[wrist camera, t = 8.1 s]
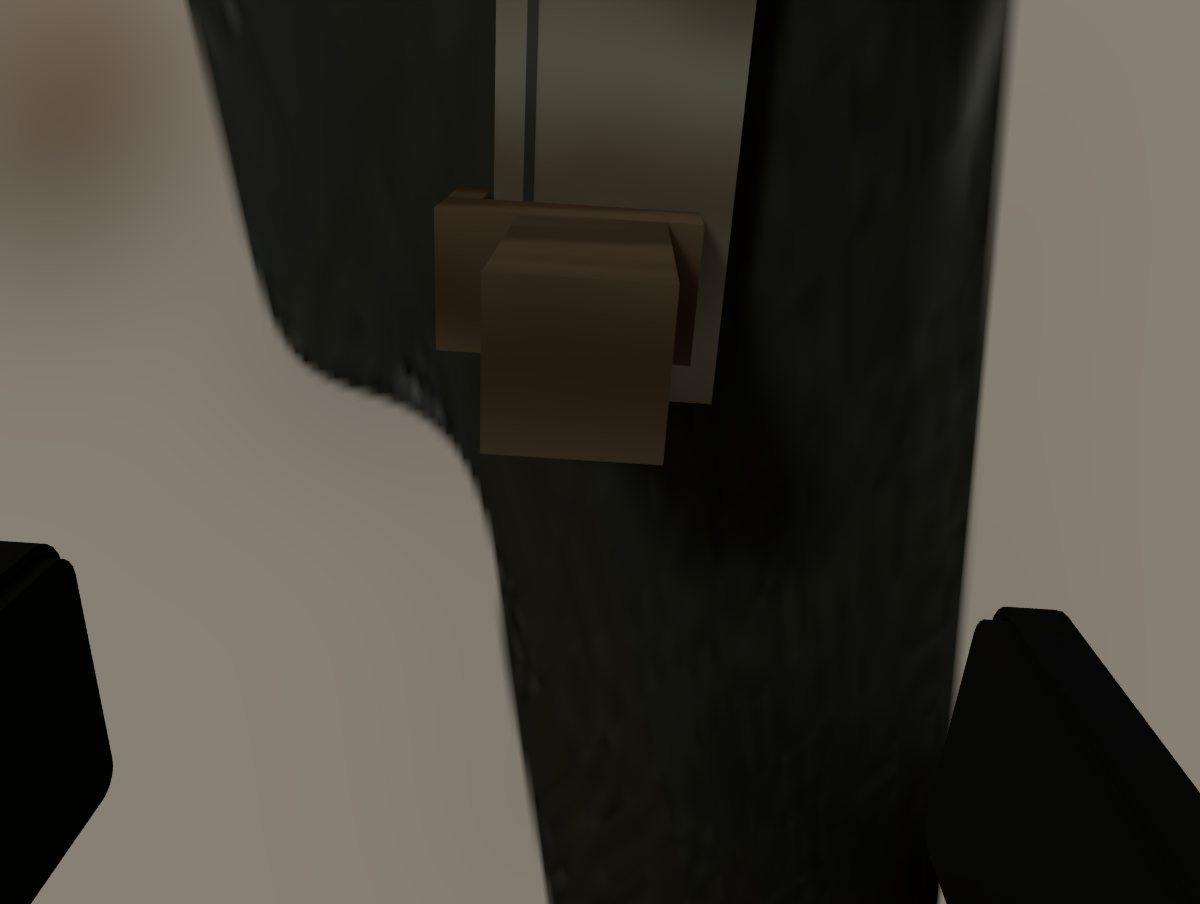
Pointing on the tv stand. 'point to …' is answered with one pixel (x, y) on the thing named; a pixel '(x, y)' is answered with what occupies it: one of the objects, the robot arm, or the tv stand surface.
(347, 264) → the tv stand surface
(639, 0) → the board
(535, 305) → the brown slider knob
